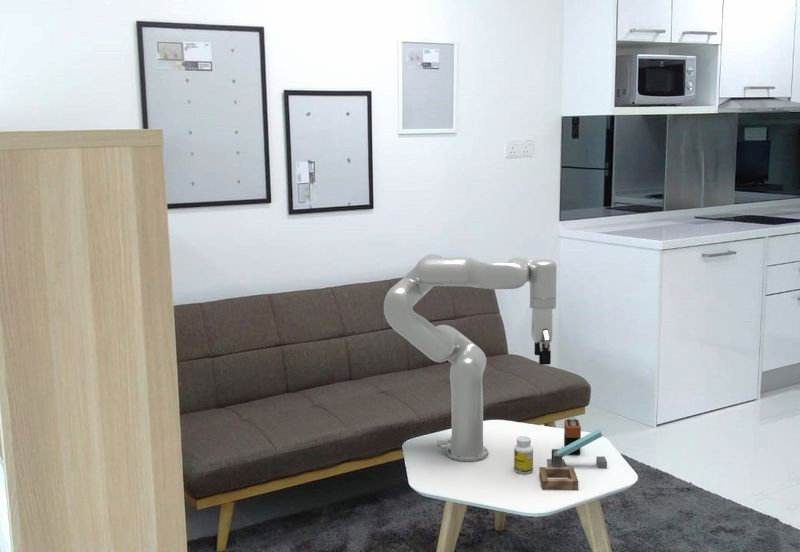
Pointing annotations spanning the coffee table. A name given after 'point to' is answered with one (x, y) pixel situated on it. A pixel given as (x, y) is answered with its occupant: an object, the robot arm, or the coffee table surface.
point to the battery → (572, 433)
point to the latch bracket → (560, 462)
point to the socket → (558, 483)
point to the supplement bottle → (523, 455)
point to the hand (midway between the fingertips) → (542, 359)
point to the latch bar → (579, 443)
